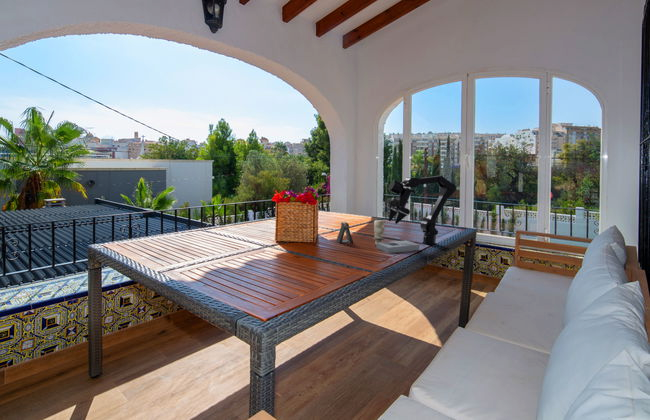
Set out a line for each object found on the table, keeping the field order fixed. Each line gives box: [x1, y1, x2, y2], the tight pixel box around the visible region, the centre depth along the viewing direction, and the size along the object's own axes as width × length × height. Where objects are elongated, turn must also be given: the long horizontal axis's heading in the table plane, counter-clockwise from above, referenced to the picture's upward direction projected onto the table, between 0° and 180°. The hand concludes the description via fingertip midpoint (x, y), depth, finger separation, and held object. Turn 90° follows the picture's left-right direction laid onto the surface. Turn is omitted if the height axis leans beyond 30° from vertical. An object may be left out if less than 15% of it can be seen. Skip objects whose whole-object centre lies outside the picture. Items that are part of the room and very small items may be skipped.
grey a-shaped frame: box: [336, 221, 354, 244], centre depth 213 cm, size 9×6×12 cm, turn 104°
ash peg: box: [373, 219, 385, 246], centre depth 207 cm, size 6×6×14 cm
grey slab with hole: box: [376, 240, 420, 254], centre depth 197 cm, size 20×12×3 cm, turn 112°
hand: (392, 222), depth 204 cm, fingers open, 9 cm apart
